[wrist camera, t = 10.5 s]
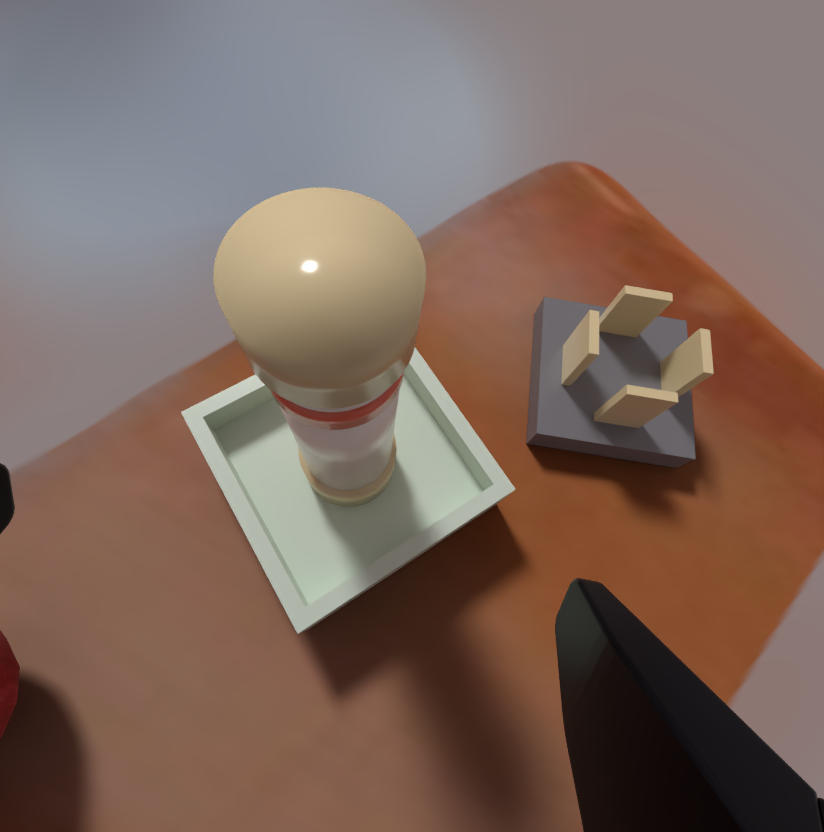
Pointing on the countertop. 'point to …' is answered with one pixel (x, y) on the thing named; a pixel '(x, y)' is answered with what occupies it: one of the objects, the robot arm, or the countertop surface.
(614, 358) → the grey stand with brackets
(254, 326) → the white and tan post
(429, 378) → the tray
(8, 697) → the onion
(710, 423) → the countertop surface
